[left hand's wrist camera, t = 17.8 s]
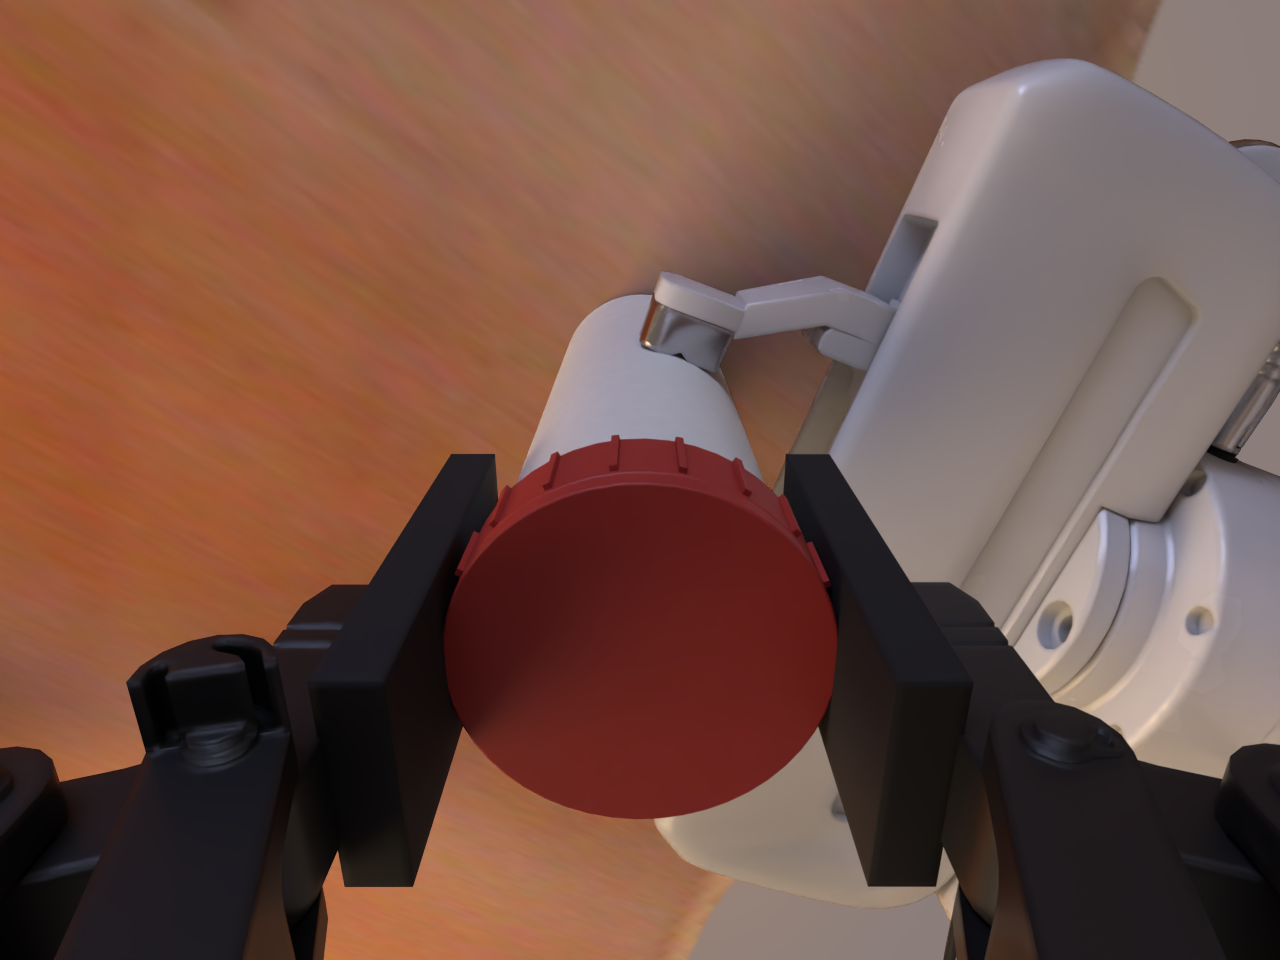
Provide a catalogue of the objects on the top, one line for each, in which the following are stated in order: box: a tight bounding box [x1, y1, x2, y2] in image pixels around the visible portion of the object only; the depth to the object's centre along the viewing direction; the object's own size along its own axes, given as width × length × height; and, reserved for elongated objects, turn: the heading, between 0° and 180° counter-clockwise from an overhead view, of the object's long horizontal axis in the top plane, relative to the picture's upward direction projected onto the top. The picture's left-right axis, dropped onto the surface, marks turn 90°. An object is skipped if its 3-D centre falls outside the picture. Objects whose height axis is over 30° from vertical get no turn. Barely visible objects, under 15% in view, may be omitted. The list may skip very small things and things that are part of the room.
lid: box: [443, 435, 838, 819], centre depth 11 cm, size 5×5×2 cm
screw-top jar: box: [517, 295, 765, 484], centre depth 18 cm, size 5×5×15 cm
